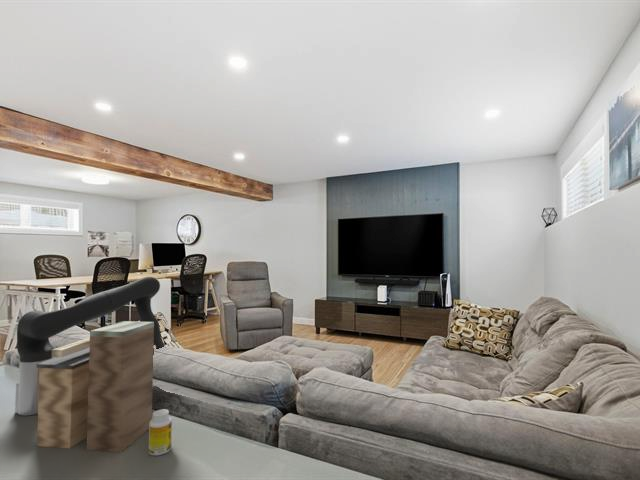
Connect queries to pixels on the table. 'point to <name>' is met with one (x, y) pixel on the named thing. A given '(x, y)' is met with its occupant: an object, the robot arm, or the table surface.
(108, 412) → the walnut stand
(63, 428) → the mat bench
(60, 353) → the slat
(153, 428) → the supplement bottle
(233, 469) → the table surface
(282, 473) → the table surface
